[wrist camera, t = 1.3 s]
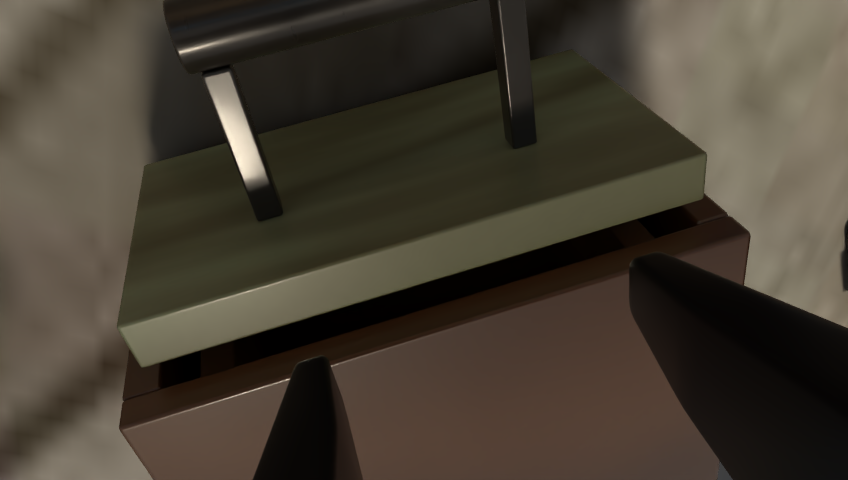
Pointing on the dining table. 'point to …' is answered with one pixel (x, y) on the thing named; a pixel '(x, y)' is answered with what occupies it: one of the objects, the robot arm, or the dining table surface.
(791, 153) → the dining table surface
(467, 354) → the cabinet
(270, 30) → the drawer
